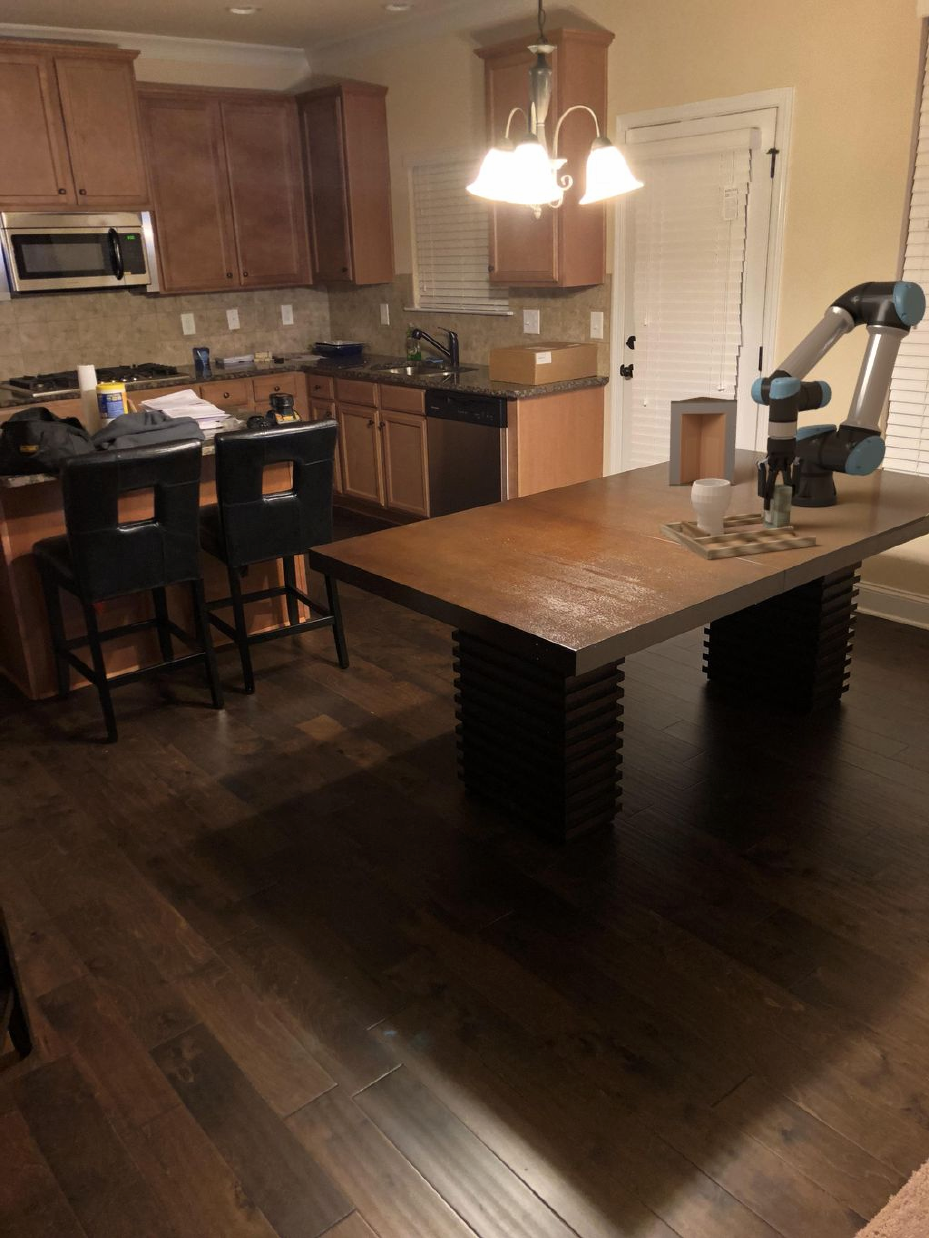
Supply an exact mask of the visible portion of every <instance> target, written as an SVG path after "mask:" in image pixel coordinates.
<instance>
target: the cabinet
mask: <svg viewBox="0 0 929 1238" xmlns="http://www.w3.org/2000/svg"><path fill="white" fill-rule="evenodd" d="M737 419H738V399H737V398H735V399H728V398H727V399H726V398H717V397H709V396H708V397H707V396H698V397H692V398H687V399H681V400H670V428H669V429H670V430H669V434H670V436H669V473H668V481H669V482H668V486H669V487H693V484H694V482H695V481H697V480H701V479H723V480H727V481H729V482H730V485H731V487H734V486H735V485H734V483H735V463H736V440H737V439H736V438H737Z"/></svg>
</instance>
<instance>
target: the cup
mask: <svg viewBox="0 0 929 1238" xmlns="http://www.w3.org/2000/svg"><path fill="white" fill-rule="evenodd" d="M732 493H733V491H732V486H731V485H730V482H729V481H727V480H723V479H701V480H697V481H695V482H694V484H693V486H692V488H691V492H690V494H691V497H690V500H691V502H692V503H691V504H692V507H693V509H694V511H695V513H696V520H697V521H698V524H697V527H698V528H700V529H702V530H704V531H706V532H708V533H710V536H717V535H725V529H724V527H723V520H724V517H725V514H726V512H727V511H728V509H729V506H730V504H731V501H732V495H733V494H732Z"/></svg>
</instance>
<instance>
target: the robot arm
mask: <svg viewBox="0 0 929 1238" xmlns="http://www.w3.org/2000/svg"><path fill="white" fill-rule="evenodd" d="M926 307H927V300H926V295H925V292H924V289H923V287H921V286H920V284H918V283H916V282H914V281H905V280H897V281H896V280H895V281H892V280H891V281H865V282H863V283H862V282H861V283H860V284H857V285H855V286H853V287H851V288H850V289H849V290H847V291H846V292H843V293H842V294H841V295H840V296H839V297H838V298H837V299H835V300H834V301H833V302H832V303H831V304H830V305H829V306H828V307H827V309H825V311H824V315H823V316H824V317H823V318H822V319H821V320H820V321H819V322H818V323H817V324H816V325H815V326H814V327H813V329H812V330H810V332H809V333H808V334H807V335H806V336H805V337H804V338H803V340H801V341H800V343H799V344H798V345H797V346H796V347H795V348H794V349H793V350H792V352H790V354H789V355H788V356H787V357H786V358H785V359H784V360H783V361H782V363H780V365H779V366H778V367H777V368H776V369H775V370H774V371H773V373H770V375H769V376H768V377H767V376H764V377H759V378H757V379H755V381H754V382H753V384H752V386H751V388H750V389H751V390H750V394H751V395H750V396H751V399H752V401H753V402H754V403H756V404H757V405H758V404H759V405H762V406H766V407H768V406H769V407H768V409H769V410H768V423H767V425H768V426H767V439H766V441H767V442H766V453H767V454H766V456H765V457H764V459H763V460H761V461H759V460H758V461H757V462H756V463H755V464H756V467H757V468H756V469H757V496H758V497H759V498H763V511H764V510H766V514H765V521H768V522H770V523H772V522H773V509H774V499H772V494H773V490H774V486H775V483H777V482H776V481H777V478H778V476H779V473H780V472H781V476H782V484H784V485H787V486H790V487H792V499H791V506H797V507H806V508H807V507H808V508H818V507H819V508H820V507H821V508H822V507H829V506H833V505H835V504H837V502H838V492H837V490H836V489H837V488H836V484H835V480H834V477H833V476H834V473H840V474H846V475H849V476H852V477H853V476H854V477H856V476H858V477H866V476H869V475H871V474H873V473H874V472H875V471H877V469H878V468H879V467H880V466H881V464H882V463H883V460H884V459H885V455H886V449H887V447H886V441H885V439H883V438H882V437H881V436H882V429H881V428H880V426H879V421H880V420H881V419H880V418H881V415H882V412H883V407H884V403H885V399H886V397H887V394H888V393H887V392H888V389H889V386H890V384H891V383H890V382H891V378H892V375H893V372H894V368H895V364H896V360H897V358H898V353H899V350H900V346H901V342H902V340H903V339H904V338H906V337H908V336H909V335H910V332H911V329H912V327H914V326H917V325H918V324H920V322H921V321H922V320H923V318H924V316H925V313H926ZM863 325H865V329H866V331H867V332H868V334H869V336H868V338H867V339H868V340H867V343H866V347H865V351H864V355H863V358H862V362H861V366H860V369H859V373H858V376H857V380H856V384H855V387H854V392H853V395H852V399H851V402H850V406H849V408H848V409H849V410H848V414H847V416H846V419H845V420H844V421H842V422H840V423H839V425H838V427H837V424H833V423H829V424H827V423H826V424H823V423H822V424H813V425H806V426H801V427H799V428H798V418H799V413H801V412H808V411H814V410H815V411H816V410H819V409H822V408H825V407H827V406H828V405H829V403H830V402H831V399H832V396H833V395H832V394H833V393H832V392H833V391H832V387H831V386H830V384H829V383H828V382H826V381H825V380H812V381H805V380H804V379H805V377H806V376H807V375H808V374H809V373H810V372H811V371H812V370H813V369H814V368H815V366H817V364H818V363H819V362H820V361H821V360H822V359H823V358H824V357H825V356H826V355H827V354H828V352H829V351H830V350H831V349H832V348H833V347H834V346H835V345H836V344H837V343H838V342H839V340H840V339H841V338H842V337H843V336H844V335H847V334H850V333H851V332H853V331H854V330H855V329H856V328H857V327H859V326H863ZM803 380H804V381H803ZM791 466H792V467H791ZM767 468H768V471H767Z"/></svg>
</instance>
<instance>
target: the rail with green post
mask: <svg viewBox="0 0 929 1238" xmlns="http://www.w3.org/2000/svg"><path fill="white" fill-rule="evenodd" d="M772 499H774V509H773V522H772V523H770V522H768V521H765V514H766V510H764V509H763V516H761V517H757V518H749V519H741V520H732V521H724V522H723V527H724V528H725V529H726V528H730V527H732V528H733V527H738V526H747V525H755V524H762V526H763V527H766V528H767V529H772V528H780V527H788V526H791V525H790V524H791V511H792V504H791V499H792V487H790V486H787V485H784V484H783V482H782V483H781V482H775V486H774V490H773V494H772ZM680 522H681V531H680V533H681V534H682V533H683V535H685V536H687V537H689V538H690V537H691V539H693V538H701V537H709V536H710V533H708V532H706V531H704V530H702V529H700V528H698V527H697V525H692V524H690V523H688V522H686V520H681V521H680Z"/></svg>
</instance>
